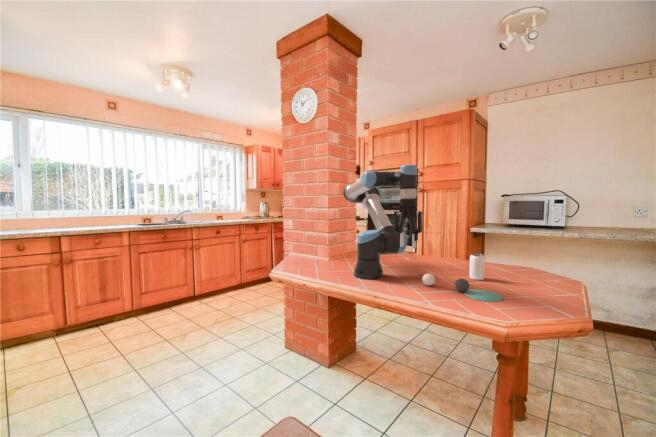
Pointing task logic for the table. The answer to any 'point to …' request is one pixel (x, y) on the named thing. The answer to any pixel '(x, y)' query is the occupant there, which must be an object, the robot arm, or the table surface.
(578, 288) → the table surface
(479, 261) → the can
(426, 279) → the cue ball
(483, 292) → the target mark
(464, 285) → the object ball
